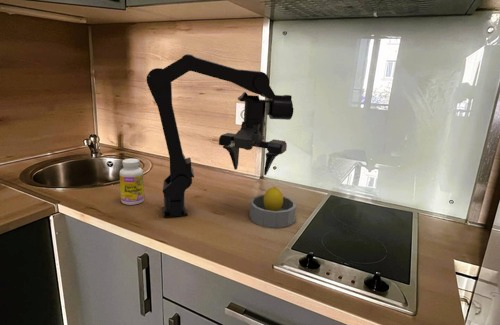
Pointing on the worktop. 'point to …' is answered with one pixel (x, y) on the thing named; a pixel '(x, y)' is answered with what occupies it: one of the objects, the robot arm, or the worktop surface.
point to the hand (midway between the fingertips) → (250, 172)
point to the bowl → (272, 213)
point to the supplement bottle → (131, 182)
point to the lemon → (273, 199)
